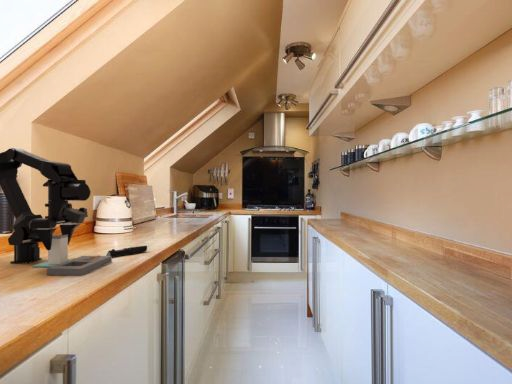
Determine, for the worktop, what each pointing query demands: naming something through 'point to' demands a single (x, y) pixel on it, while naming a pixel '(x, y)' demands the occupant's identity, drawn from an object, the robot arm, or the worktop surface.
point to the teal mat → (45, 264)
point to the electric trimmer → (126, 251)
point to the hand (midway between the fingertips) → (58, 247)
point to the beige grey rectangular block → (58, 249)
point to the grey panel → (79, 265)
